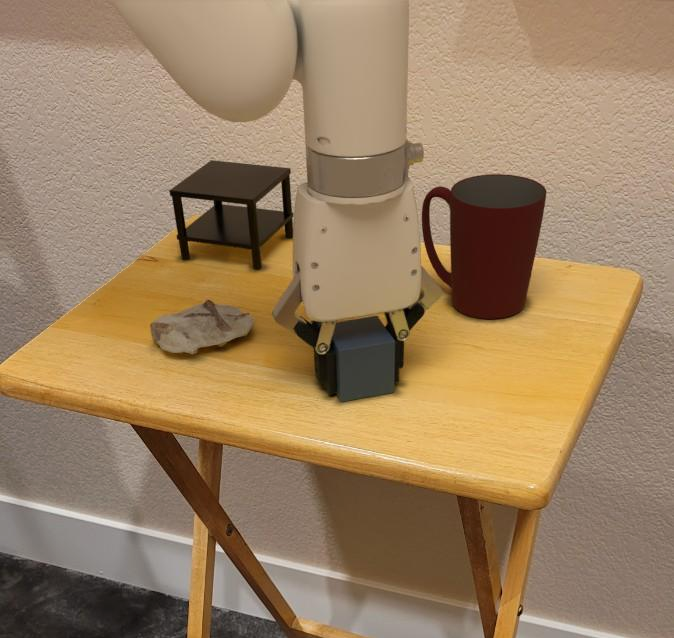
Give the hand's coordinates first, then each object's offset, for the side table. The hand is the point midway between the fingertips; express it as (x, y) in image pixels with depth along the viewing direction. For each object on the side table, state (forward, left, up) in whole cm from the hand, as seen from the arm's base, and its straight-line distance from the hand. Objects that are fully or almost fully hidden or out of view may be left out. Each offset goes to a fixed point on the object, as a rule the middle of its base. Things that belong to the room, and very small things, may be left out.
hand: (359, 379), depth 79 cm
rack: (-4, +34, 0) cm, 34 cm away
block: (0, 0, 0) cm, 0 cm away
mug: (+16, +12, -1) cm, 20 cm away
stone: (-12, +13, -1) cm, 18 cm away
